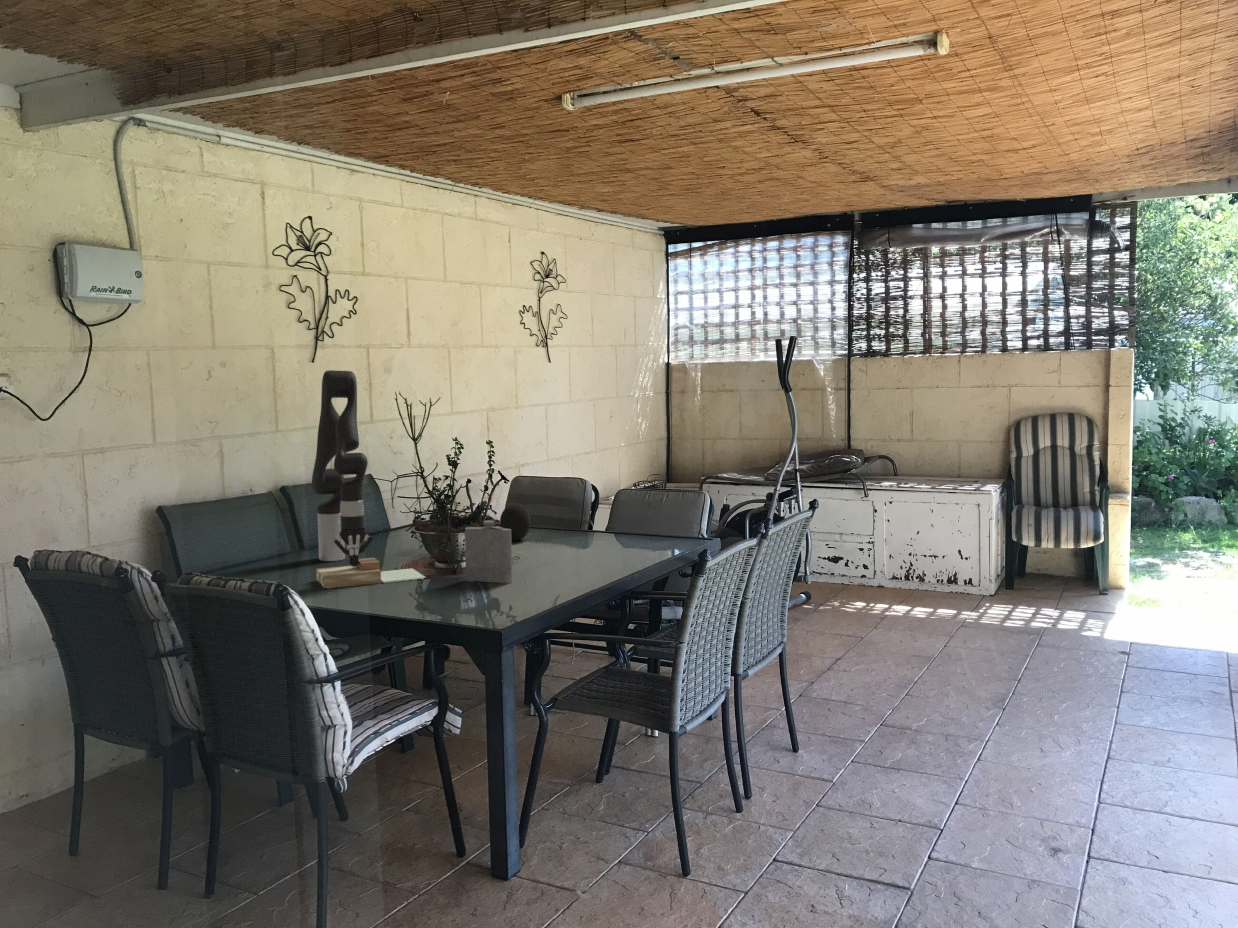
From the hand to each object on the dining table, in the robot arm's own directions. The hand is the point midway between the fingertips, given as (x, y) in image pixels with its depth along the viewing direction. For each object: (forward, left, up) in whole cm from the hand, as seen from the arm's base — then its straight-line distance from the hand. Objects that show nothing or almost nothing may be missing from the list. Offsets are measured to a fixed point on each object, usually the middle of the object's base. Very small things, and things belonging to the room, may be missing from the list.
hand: (353, 566), depth 323 cm
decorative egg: (-44, +74, -5) cm, 86 cm away
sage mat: (0, +15, -5) cm, 16 cm away
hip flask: (+21, +39, -5) cm, 45 cm away
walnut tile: (0, +5, 0) cm, 5 cm away
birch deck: (0, -2, -5) cm, 5 cm away
